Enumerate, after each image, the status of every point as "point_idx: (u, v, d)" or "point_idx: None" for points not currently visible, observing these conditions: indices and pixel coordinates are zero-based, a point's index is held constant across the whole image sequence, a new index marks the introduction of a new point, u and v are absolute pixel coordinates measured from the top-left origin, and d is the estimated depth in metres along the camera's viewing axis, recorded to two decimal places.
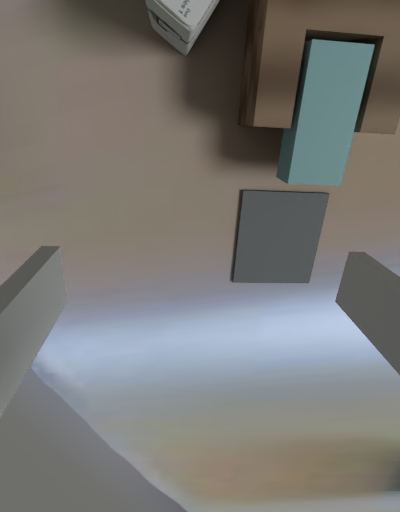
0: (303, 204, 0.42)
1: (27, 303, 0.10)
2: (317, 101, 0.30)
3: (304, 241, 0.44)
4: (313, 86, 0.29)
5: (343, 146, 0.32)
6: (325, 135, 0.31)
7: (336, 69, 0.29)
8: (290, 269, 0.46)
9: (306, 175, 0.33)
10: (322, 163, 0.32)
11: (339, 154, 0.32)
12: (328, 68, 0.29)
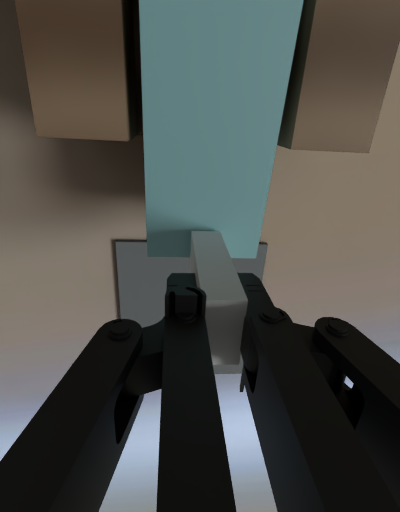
0: None
1: None
2: (181, 89, 0.12)
3: None
4: (163, 51, 0.12)
5: (254, 187, 0.15)
6: (212, 166, 0.14)
7: (217, 4, 0.11)
8: None
9: (183, 242, 0.16)
10: (212, 220, 0.16)
11: (247, 202, 0.15)
12: (196, 2, 0.11)
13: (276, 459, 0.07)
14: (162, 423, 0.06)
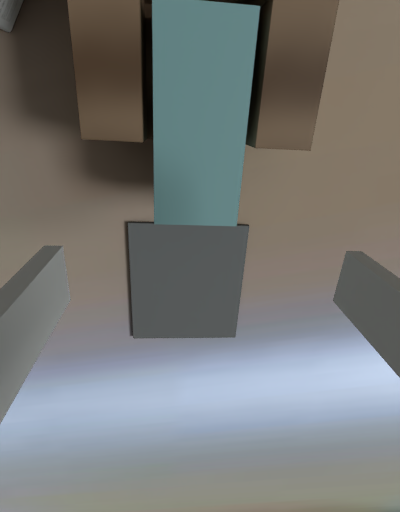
0: (215, 240, 0.31)
1: (31, 302, 0.10)
2: (179, 100, 0.19)
3: (222, 287, 0.33)
4: (167, 75, 0.18)
5: (232, 169, 0.21)
6: (201, 153, 0.20)
7: (201, 47, 0.18)
8: (208, 321, 0.35)
9: (181, 212, 0.22)
10: (202, 194, 0.21)
11: (227, 181, 0.21)
12: (188, 46, 0.18)
13: None
14: None
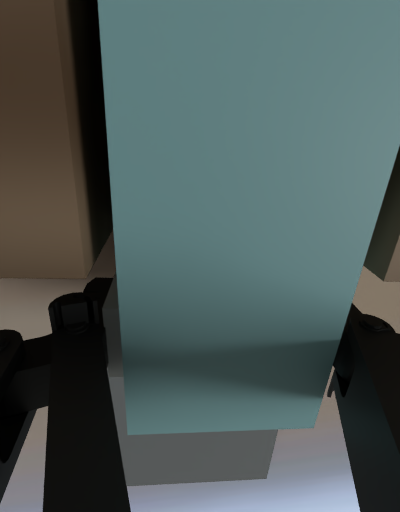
0: None
1: None
2: (189, 172, 0.06)
3: None
4: (151, 101, 0.06)
5: (318, 327, 0.08)
6: (244, 298, 0.08)
7: (265, 8, 0.05)
8: (226, 462, 0.23)
9: (190, 412, 0.09)
10: (241, 378, 0.09)
11: (304, 350, 0.09)
12: (221, 3, 0.05)
13: (365, 461, 0.07)
14: (48, 452, 0.05)
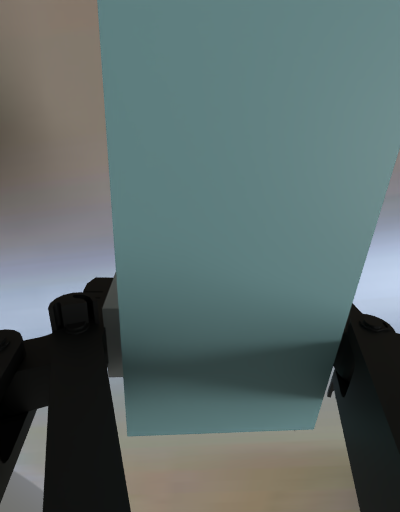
0: None
1: None
2: (189, 173, 0.06)
3: None
4: (151, 103, 0.06)
5: (318, 328, 0.08)
6: (244, 299, 0.08)
7: (265, 9, 0.05)
8: None
9: (190, 413, 0.09)
10: (241, 380, 0.09)
11: (304, 352, 0.09)
12: (221, 5, 0.05)
13: (365, 461, 0.07)
14: (48, 452, 0.05)
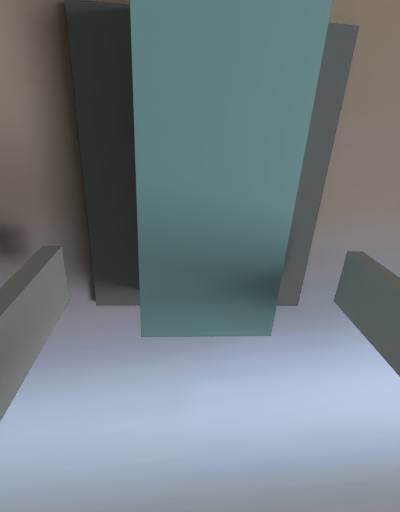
0: None
1: (29, 302, 0.10)
2: (181, 151, 0.11)
3: None
4: (160, 110, 0.10)
5: (268, 256, 0.13)
6: (218, 234, 0.12)
7: (222, 59, 0.10)
8: None
9: (184, 319, 0.14)
10: (218, 294, 0.13)
11: (260, 274, 0.13)
12: (198, 56, 0.09)
13: None
14: None
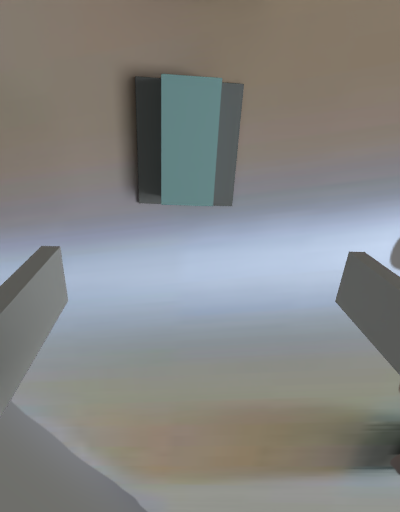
0: None
1: (27, 303, 0.10)
2: (176, 129, 0.32)
3: (220, 149, 0.37)
4: (169, 116, 0.31)
5: (209, 170, 0.34)
6: (190, 160, 0.33)
7: (189, 100, 0.31)
8: None
9: (178, 196, 0.35)
10: (191, 185, 0.34)
11: (206, 177, 0.34)
12: (181, 100, 0.31)
13: None
14: None
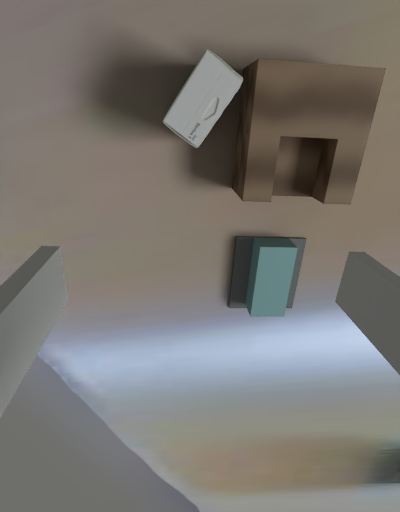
0: None
1: (27, 303, 0.10)
2: (266, 275, 0.49)
3: None
4: (262, 268, 0.49)
5: (283, 296, 0.51)
6: (272, 291, 0.51)
7: (275, 259, 0.48)
8: None
9: (261, 311, 0.52)
10: (271, 305, 0.52)
11: (281, 300, 0.52)
12: (271, 259, 0.48)
13: None
14: None
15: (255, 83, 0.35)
